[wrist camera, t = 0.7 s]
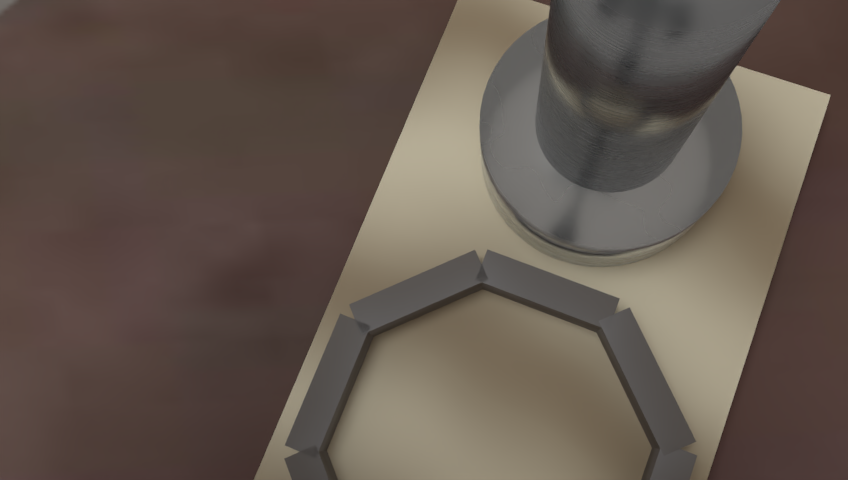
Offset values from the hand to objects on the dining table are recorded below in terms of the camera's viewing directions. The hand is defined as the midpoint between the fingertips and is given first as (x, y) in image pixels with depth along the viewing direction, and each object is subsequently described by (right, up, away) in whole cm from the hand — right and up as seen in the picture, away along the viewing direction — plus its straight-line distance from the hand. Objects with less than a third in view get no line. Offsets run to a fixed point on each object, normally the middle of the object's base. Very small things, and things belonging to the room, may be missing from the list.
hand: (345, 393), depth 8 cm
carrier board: (+3, -2, +13) cm, 13 cm away
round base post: (+5, +4, +13) cm, 14 cm away
